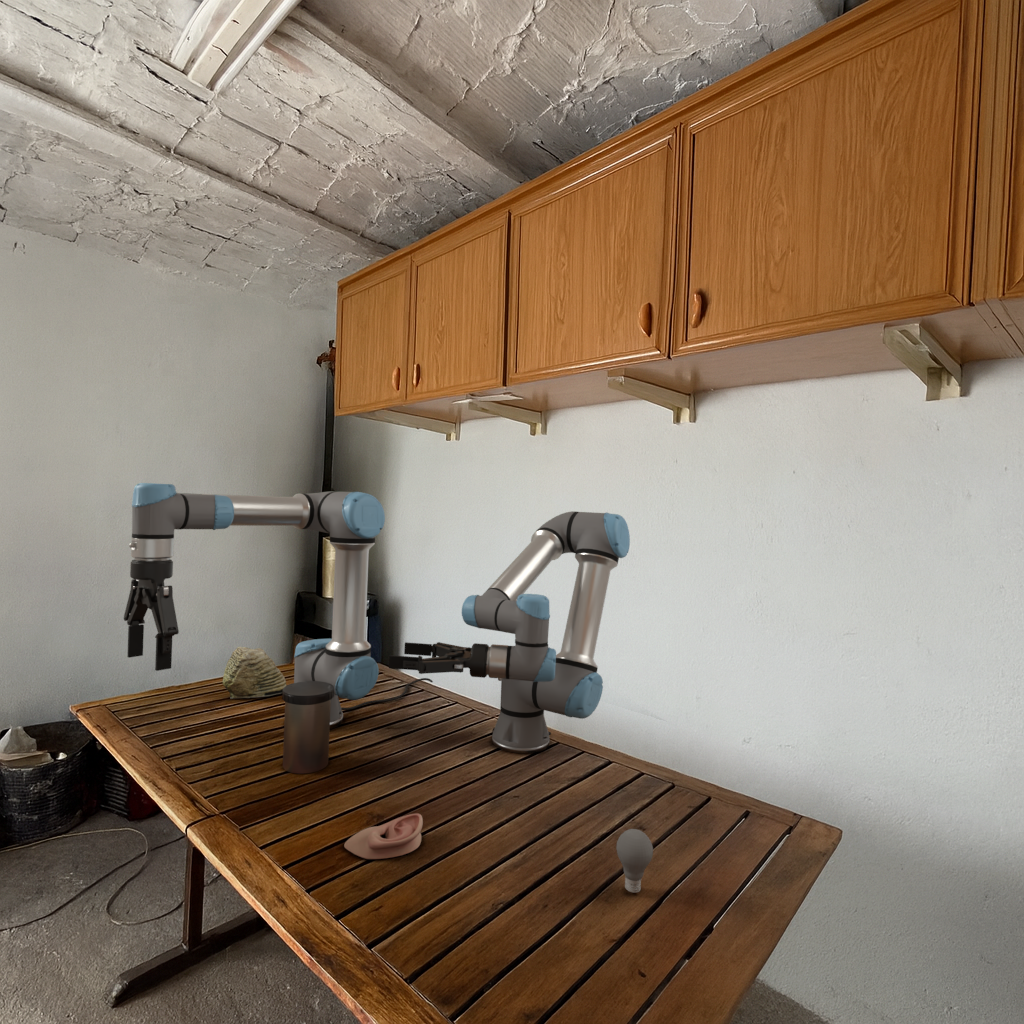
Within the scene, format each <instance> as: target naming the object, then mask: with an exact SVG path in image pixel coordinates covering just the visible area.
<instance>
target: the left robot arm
mask: <svg viewBox="0 0 1024 1024" xmlns="http://www.w3.org/2000/svg"><path fill="white" fill-rule="evenodd" d="M385 515H386V513H385V511H384V508H383V505H382V503H381V502H380V501H379V500H378V498H377V497H375V495H373V494H370V493H367V492H363V491H362V492H361V491H337V490H336V491H335V490H333V491H332V490H330V491H321V492H311V493H295V494H294V495H293V496H276V495H275V496H274V495H273V496H272V495H248V494H247V495H246V494H244V495H243V494H220V493H219V494H218V493H217V494H216V493H215V494H214V493H189V492H187V493H186V492H177V491H176V486H175V485H174V484H173V483H152V482H139V483H137V484H136V485H135V486H134V488H133V492H132V501H131V520H132V521H131V542H130V543H128V547H129V548H130V549H131V550H130V556H131V558H133V559H132V560H131V561H130V567H129V568H130V571H129V574H130V575H129V576H130V578H131V581H130V590H129V594H128V598H127V603H126V607H125V610H124V615H123V621H124V622H126V624H127V626H128V629H127V630H128V631H127V658H135V657H142V656H144V635H145V634H144V630H145V625H144V624H145V623H146V621H145V619H144V618H145V616H146V615H147V612H148V609H149V610H151V613H152V618H153V620H154V624H155V627H156V631H157V633H156V635H155V636H154V638H155V661H154V663H155V665H154V668H155V669H154V670H155V671H157V672H159V671H164V670H169V669H172V659H173V657H172V655H173V637H175V636H176V635H179V632H180V631H179V625H178V619H177V615H176V614H177V613H176V609H175V603H174V597H173V595H174V593H173V585H165V580H167V579H171V578H172V577H173V575H174V573H173V572H174V561H173V560H172V559H171V558H173V557H174V554H175V553H174V552H175V530H213V531H215V530H224V529H228V528H230V526H233V527H234V526H237V527H238V526H240V527H243V526H246V527H247V526H249V527H250V526H258V527H259V526H268V527H269V526H276V527H277V526H282V527H284V526H285V527H286V526H287V527H288V526H289V527H290V526H291V527H293V528H294V529H296V530H308V531H309V530H310V531H316V532H319V533H325V534H329V544H330V545H331V546H332V547H333V548H334V550H335V551H334V572H333V573H334V577H333V599H332V625H331V626H332V627H331V638H317V639H308V640H304V641H300V642H299V643H297V645H296V646H295V650H294V655H293V657H294V672H293V673H294V674H293V683H297V682H305V681H320V682H326V683H330V684H332V685H333V686H334V697H333V698H332V699H331V705H330V730H332V729H335V728H337V727H339V726H340V725H342V723H343V722H344V713H343V711H351V710H355V709H357V708H361V707H362V706H365V705H371V704H376V703H385V702H393V701H397V700H398V699H400V698H403V696H405V694H407V692H408V689H409V688H408V687H409V686H412V685H414V684H416V683H419V682H422V681H428V682H429V683H433V682H434V681H433V680H432V679H430V678H428V677H422V678H418V679H415V680H413V681H411V682H409V683H407V684H406V685H405V688H404V691H403V692H402V693H401V694H400V695H398V696H395V697H391V698H385V699H375V700H369V701H364V702H362V703H359V704H356V705H354V706H350V707H343V706H341V702H340V699H339V698H341V699H342V700H343V699H344V700H348V701H349V700H350V701H357V700H360V699H362V698H364V697H365V696H367V695H368V694H370V692H371V690H372V689H374V687H375V685H376V683H377V682H378V678H379V674H380V672H379V671H380V670H379V669H380V668H379V665H378V663H377V662H376V660H375V659H374V657H371V652H372V649H371V648H372V644H371V643H370V642H368V640H367V639H366V631H367V607H368V606H367V605H368V604H367V602H368V582H369V581H368V579H369V555H370V553H369V552H370V550H371V548H372V547H374V545H375V544H376V536H378V535H379V534H380V533H381V530H383V528H384V526H385V522H386V521H385V520H386V516H385Z"/></svg>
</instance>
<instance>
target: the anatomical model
mask: <svg viewBox="0 0 1024 1024" xmlns="http://www.w3.org/2000/svg"><path fill="white" fill-rule="evenodd" d="M423 820H424V819H423V815H421V814H420V813H409V814H405V815H403V816H400V817H397V818H395V819H392V820H390V821H388V822H386V823H383V824H381V825H378V826H377V825H376V826H370V827H367V828H364V829H362V830H360V831H358V832H356V833H355V834H353V835H352V836H351V837H350V838H348V839H347V840H346V841H345V842H344V845H343V847H344V849H346V850H347V851H348V852H350V853H351V854H353V855H355V856H358V857H360V858H362V859H366V860H381V859H389V858H390V859H391V858H396V857H400V856H404V855H406V854H409V853H412V852H414V851H415V850H417V849H418V848H419V847H420V845H421V842H422V829H423V826H424V825H423V823H424V821H423Z"/></svg>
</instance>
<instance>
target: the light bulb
mask: <svg viewBox="0 0 1024 1024" xmlns="http://www.w3.org/2000/svg"><path fill="white" fill-rule="evenodd" d="M615 849H616V854H617V857H618V859H619V861H620V863H621V865H622V867H623V873H624V874H623V875H624V876H625V878H624V888H625V890H627V891H628V892H630V893H634V894H635V893H639V892H640V891H641V889H642V887H641V886H642V879H643V877H644V875H645V871H646V868H647V867H648V866H649V864H650V863H651V861H652V859H653V855H654V847H653V843H652V841H651V838H649V836H648V835H647V834H646V833H645V832H643V831H642V830H641V829H636V828H629V829H627V830H625V831H623V832H622V833H621V834H620V835H619V837H618V839H617V841H616V847H615Z"/></svg>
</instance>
